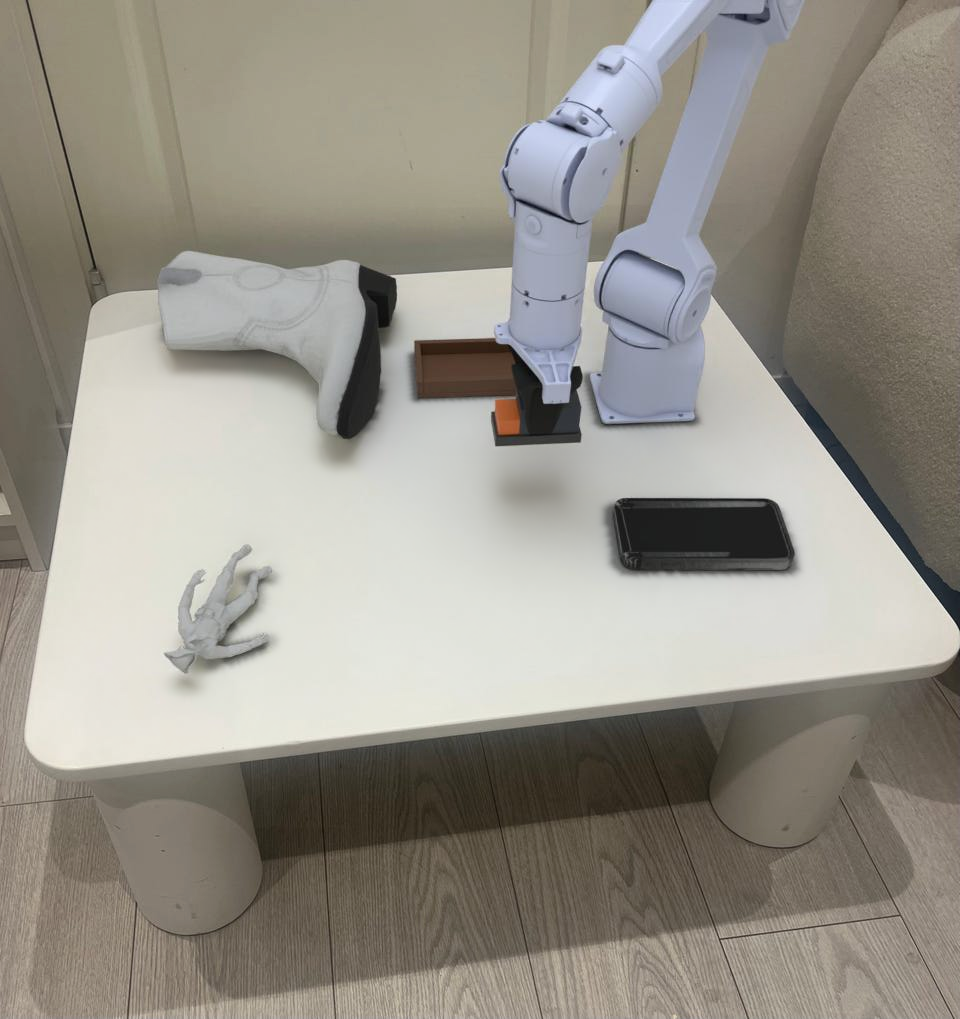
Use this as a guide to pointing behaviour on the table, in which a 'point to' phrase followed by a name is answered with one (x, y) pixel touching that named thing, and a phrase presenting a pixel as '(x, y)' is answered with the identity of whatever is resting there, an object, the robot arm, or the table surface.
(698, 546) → the phone
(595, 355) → the table surface
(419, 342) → the rectangular tray
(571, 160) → the robot arm
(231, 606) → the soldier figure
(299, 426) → the table surface
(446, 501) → the table surface
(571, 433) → the stepped block
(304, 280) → the cowboy boot
